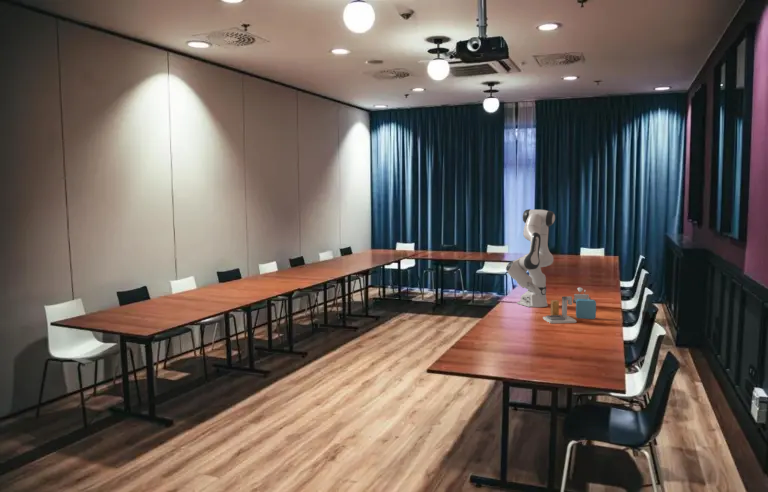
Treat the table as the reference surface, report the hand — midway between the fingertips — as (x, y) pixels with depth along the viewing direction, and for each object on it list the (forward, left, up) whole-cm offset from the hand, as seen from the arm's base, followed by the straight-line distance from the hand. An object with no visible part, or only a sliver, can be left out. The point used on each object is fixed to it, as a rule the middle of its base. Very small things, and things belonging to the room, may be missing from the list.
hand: (540, 295), depth 370 cm
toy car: (-15, +63, -14) cm, 66 cm away
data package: (+22, +19, -14) cm, 32 cm away
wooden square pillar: (+5, +9, -14) cm, 17 cm away
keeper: (+17, -2, -14) cm, 22 cm away
